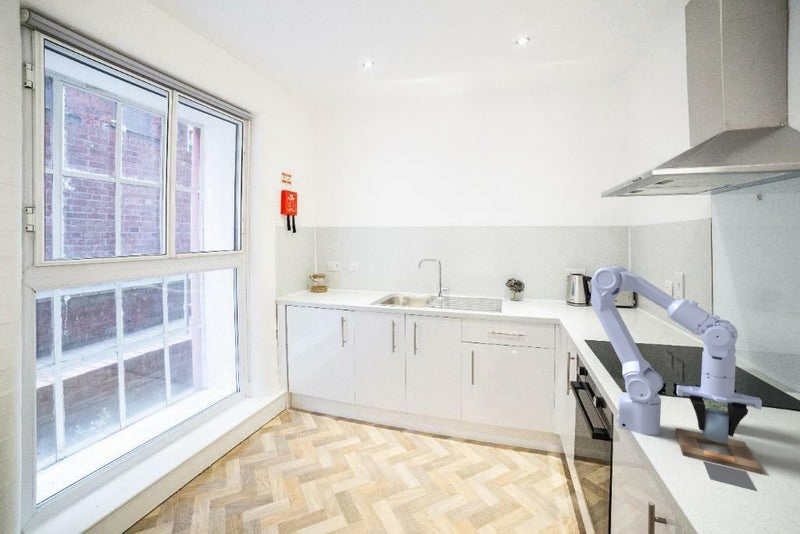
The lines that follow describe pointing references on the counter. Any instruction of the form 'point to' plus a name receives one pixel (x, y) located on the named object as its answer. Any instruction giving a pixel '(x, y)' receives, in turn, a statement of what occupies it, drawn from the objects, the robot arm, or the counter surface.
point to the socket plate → (737, 449)
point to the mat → (729, 476)
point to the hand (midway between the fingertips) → (715, 431)
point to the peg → (716, 425)
